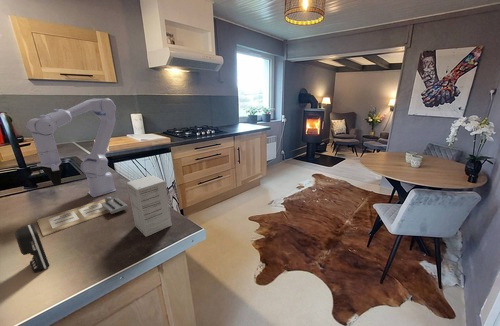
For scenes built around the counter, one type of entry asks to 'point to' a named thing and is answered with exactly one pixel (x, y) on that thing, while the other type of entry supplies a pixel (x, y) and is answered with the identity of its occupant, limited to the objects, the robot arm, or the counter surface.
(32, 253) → the battery charger
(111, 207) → the grey slotted block
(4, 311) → the counter surface
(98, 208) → the label board
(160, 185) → the supplement box
